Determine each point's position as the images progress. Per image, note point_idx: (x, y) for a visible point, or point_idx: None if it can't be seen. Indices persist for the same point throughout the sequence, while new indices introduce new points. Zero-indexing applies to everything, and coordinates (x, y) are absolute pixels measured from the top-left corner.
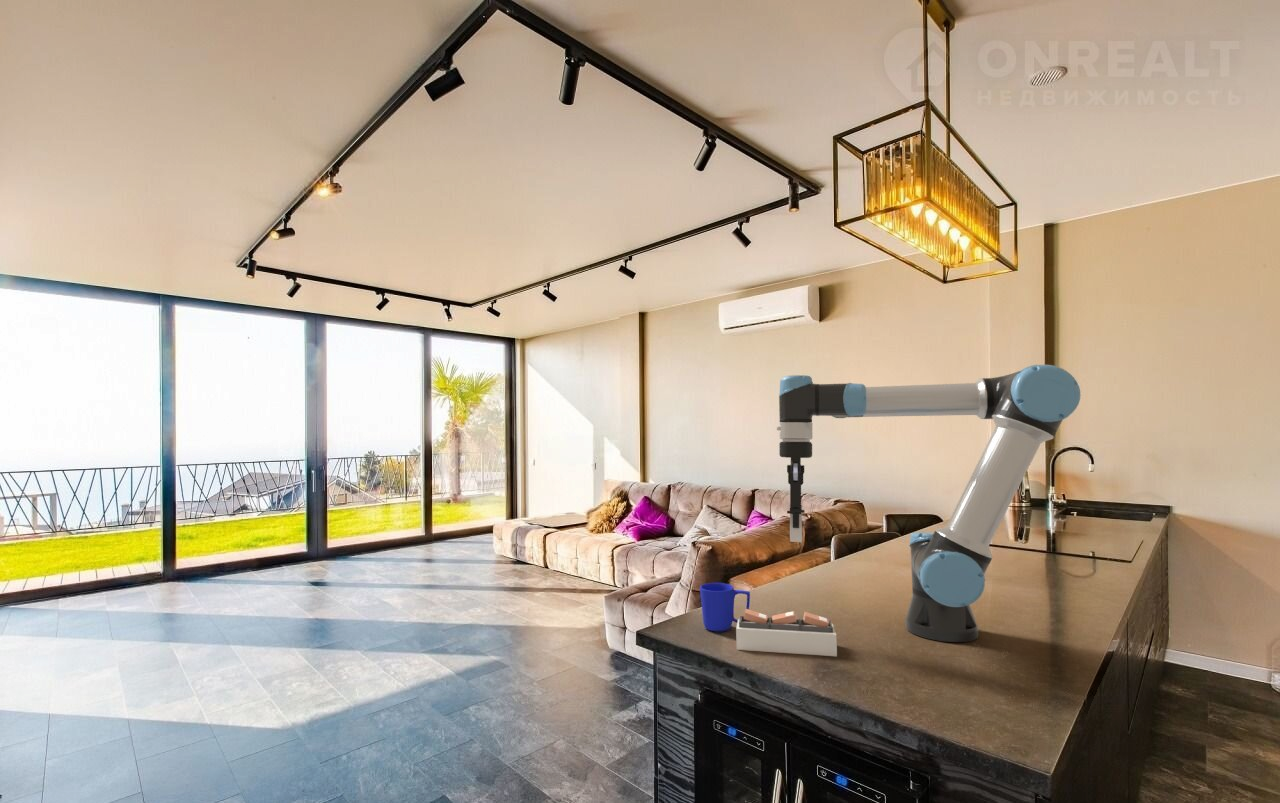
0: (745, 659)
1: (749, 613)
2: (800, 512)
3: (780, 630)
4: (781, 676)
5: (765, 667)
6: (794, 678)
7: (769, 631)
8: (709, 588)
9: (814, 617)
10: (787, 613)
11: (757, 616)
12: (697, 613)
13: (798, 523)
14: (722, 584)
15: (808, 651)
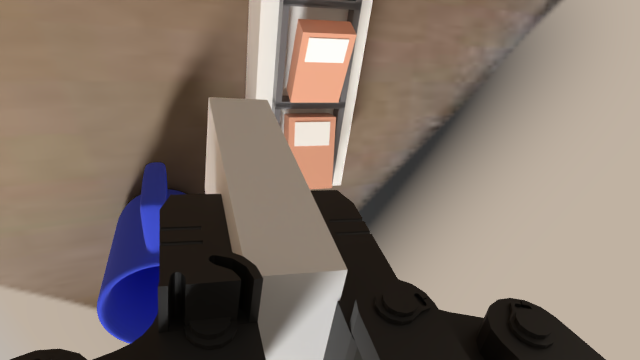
0: (384, 132)
1: (325, 174)
2: (427, 303)
3: (353, 68)
4: (483, 52)
5: (432, 87)
6: (498, 23)
7: (354, 99)
8: (125, 320)
9: None
10: (317, 56)
11: (332, 149)
12: (28, 286)
13: (361, 225)
14: (106, 300)
15: None
